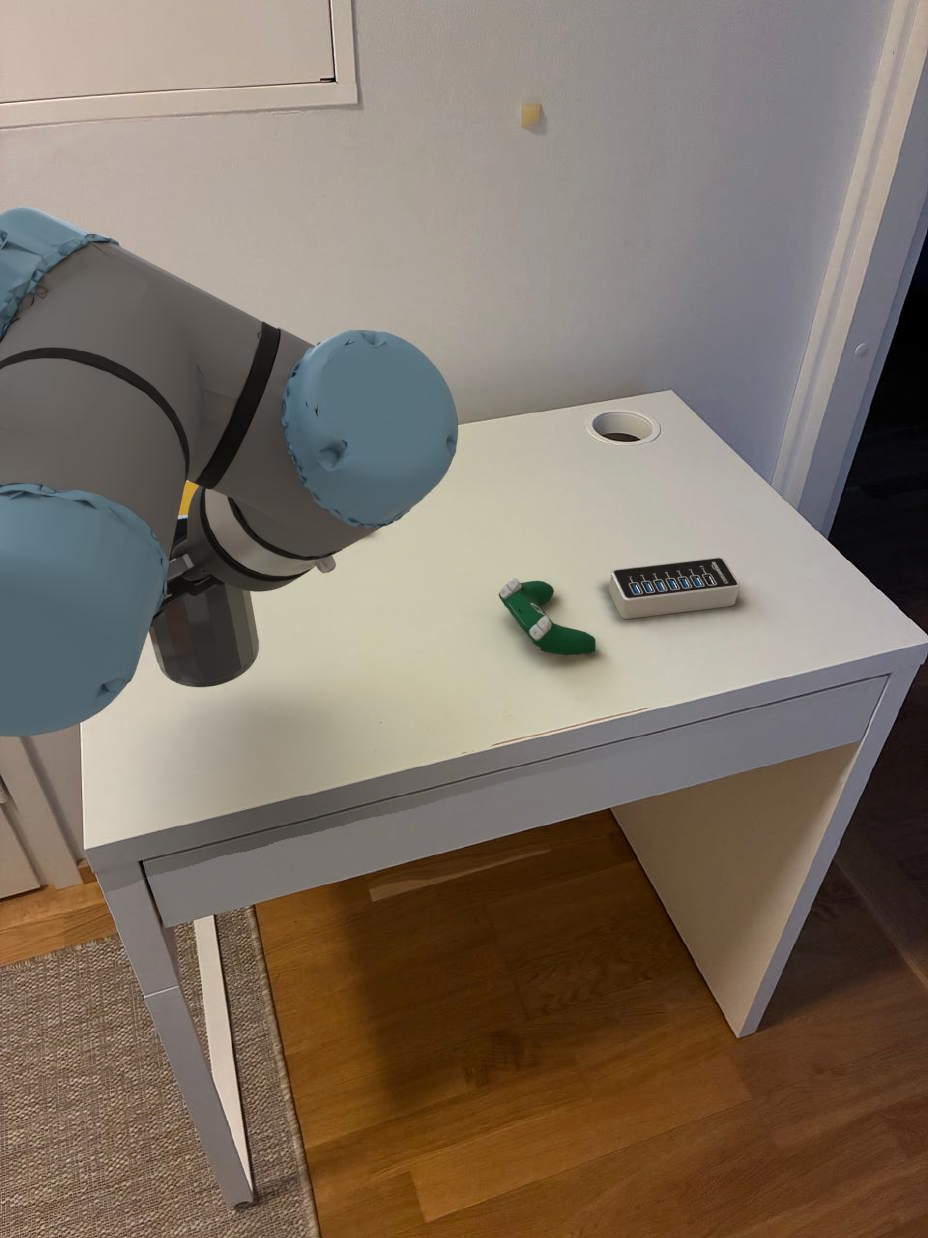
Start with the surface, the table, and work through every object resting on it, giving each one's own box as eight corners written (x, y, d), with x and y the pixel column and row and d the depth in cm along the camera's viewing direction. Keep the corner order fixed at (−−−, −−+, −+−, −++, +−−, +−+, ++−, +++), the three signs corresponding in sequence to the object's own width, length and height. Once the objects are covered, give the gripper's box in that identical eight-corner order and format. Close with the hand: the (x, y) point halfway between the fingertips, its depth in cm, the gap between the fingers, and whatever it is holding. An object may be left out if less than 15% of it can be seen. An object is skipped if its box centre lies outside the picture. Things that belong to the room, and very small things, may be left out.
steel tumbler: (161, 696, 68) (130, 588, 62) (155, 629, 73) (126, 522, 67) (265, 676, 70) (247, 569, 63) (252, 611, 75) (234, 506, 68)
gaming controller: (524, 613, 90) (484, 591, 85) (551, 583, 89) (512, 559, 84) (574, 677, 83) (533, 656, 79) (603, 645, 82) (564, 623, 78)
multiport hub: (607, 588, 90) (610, 569, 88) (718, 575, 91) (722, 556, 90) (621, 619, 86) (625, 600, 85) (736, 605, 88) (741, 586, 86)
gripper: (132, 658, 47) (71, 703, 66) (448, 503, 57) (314, 581, 77) (56, 521, 46) (17, 606, 66) (389, 388, 56) (269, 497, 76)
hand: (177, 593), depth 71 cm, fingers closed on steel tumbler, 7 cm apart
